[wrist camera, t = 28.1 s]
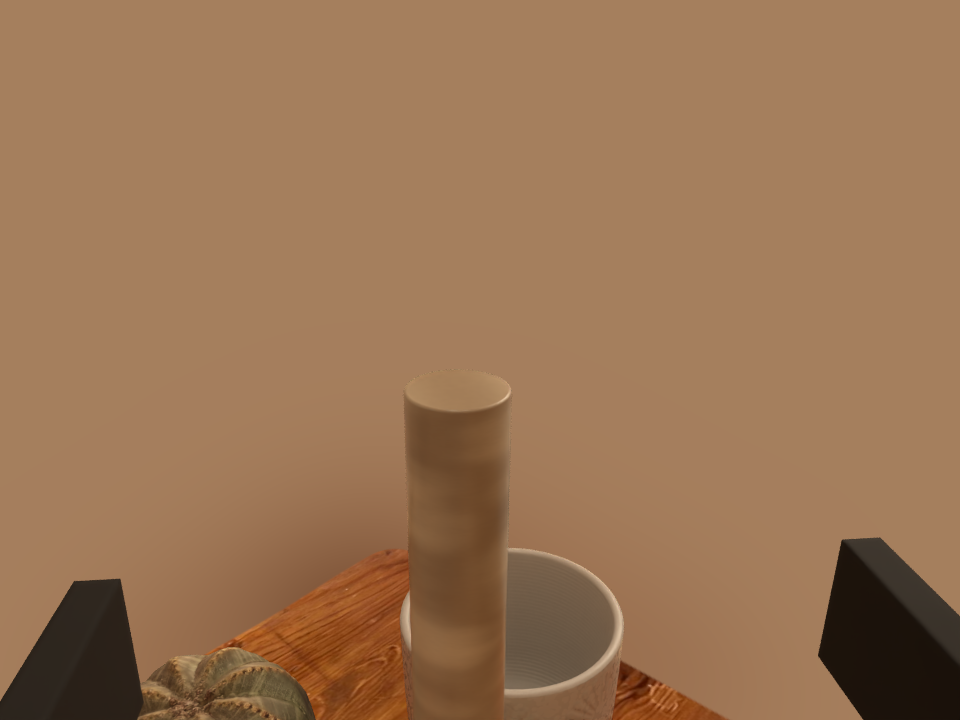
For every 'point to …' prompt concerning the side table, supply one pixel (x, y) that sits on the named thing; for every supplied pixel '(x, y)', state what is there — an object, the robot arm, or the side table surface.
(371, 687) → the side table surface
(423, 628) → the paper towel holder
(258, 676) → the brown ribbed round dome
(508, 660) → the planter
